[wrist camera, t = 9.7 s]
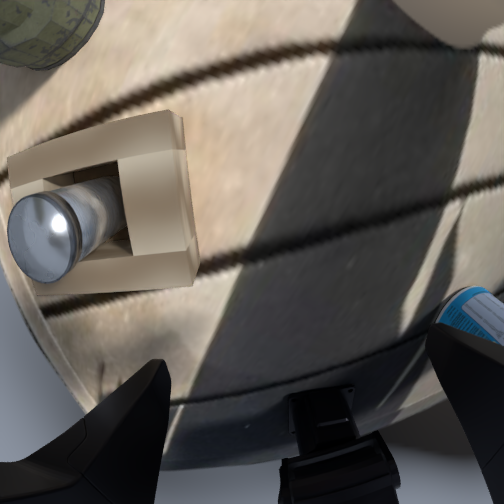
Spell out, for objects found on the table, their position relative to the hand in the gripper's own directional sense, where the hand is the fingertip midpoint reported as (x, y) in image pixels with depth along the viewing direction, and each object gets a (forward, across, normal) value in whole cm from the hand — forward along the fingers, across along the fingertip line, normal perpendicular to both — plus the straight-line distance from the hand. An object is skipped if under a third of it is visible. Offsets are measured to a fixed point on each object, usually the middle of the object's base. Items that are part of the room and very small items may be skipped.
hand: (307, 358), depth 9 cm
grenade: (+13, +15, -20) cm, 28 cm away
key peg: (+12, +11, -4) cm, 17 cm away
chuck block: (+12, +11, -4) cm, 17 cm away
